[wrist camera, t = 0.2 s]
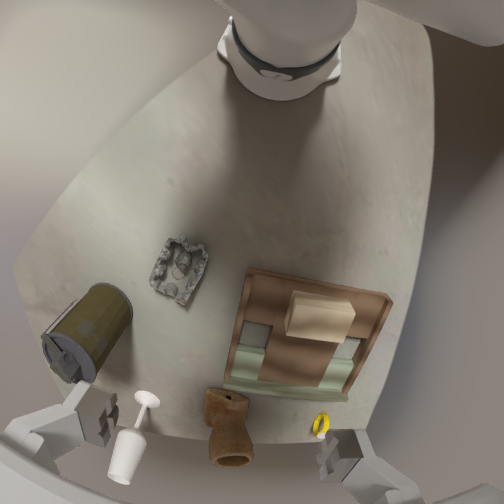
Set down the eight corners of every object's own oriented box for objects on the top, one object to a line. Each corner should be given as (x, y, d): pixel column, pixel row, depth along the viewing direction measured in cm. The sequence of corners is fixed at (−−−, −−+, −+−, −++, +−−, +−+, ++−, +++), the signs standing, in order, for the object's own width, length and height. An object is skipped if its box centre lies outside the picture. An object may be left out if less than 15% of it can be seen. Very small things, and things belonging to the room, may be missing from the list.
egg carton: (188, 298, 52) (183, 310, 48) (151, 278, 51) (143, 288, 47) (215, 249, 49) (211, 259, 45) (175, 227, 47) (168, 235, 43)
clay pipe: (250, 428, 65) (248, 477, 51) (203, 421, 64) (194, 470, 50) (261, 390, 60) (261, 446, 46) (207, 382, 59) (196, 437, 45)
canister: (143, 316, 53) (101, 388, 35) (110, 334, 56) (68, 401, 37) (107, 271, 50) (49, 331, 32) (77, 294, 52) (23, 352, 34)
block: (293, 290, 48) (296, 304, 44) (348, 299, 49) (355, 313, 45) (284, 320, 50) (286, 335, 46) (337, 328, 51) (343, 343, 47)
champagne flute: (161, 395, 61) (134, 479, 39) (159, 411, 64) (135, 489, 41) (134, 387, 61) (100, 467, 38) (134, 403, 63) (104, 478, 41)
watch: (319, 423, 64) (321, 442, 59) (309, 422, 64) (311, 441, 59) (330, 410, 62) (333, 430, 57) (320, 409, 62) (323, 429, 56)
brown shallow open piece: (247, 267, 49) (246, 281, 45) (386, 293, 50) (396, 307, 46) (224, 371, 58) (222, 388, 53) (342, 385, 59) (346, 401, 54)
